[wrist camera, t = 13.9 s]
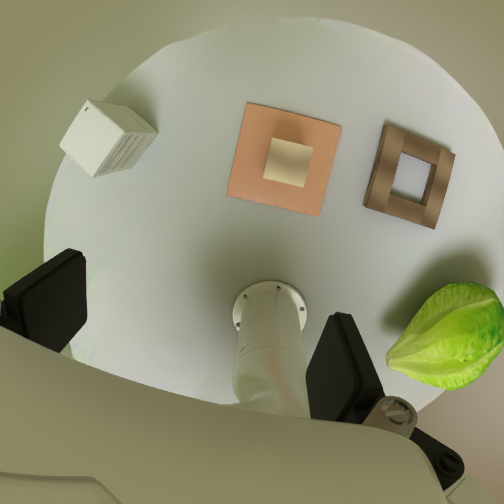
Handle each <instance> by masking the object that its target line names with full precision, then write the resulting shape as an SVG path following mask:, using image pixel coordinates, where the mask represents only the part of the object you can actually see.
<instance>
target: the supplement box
mask: <svg viewBox="0 0 504 504" xmlns="http://www.w3.org/2000/svg"><path fill="white" fill-rule="evenodd" d="M157 134H158V131H156V130H155V129H154V128H153V127H152V126H151V125H150V124H148V123H147V122H146V121H145V120H144V119H143V118H141V117H140V116H139V115H138V114H137V113H135V112H134V111H133V110H132V109H131V108H129V107H126V106H121V105H116V104H111V103H106V102H100V101H95V100H89V99H88V100H87V101H86V103H85V104H84V106H83V107H82V109H81V110H80V112H79V113H78V115H77V116H76V118H75V119H74V121H73V123H72V124H71V126H70V127H69V129H68V131H67V132H66V134H65V136H64V137H63V139H62V141H61V143H60V145H59V146H60V147H61V148H62V149H63V150H64V151H65V152H66V153H67V154H68V155H69V156H70V157H71V158H72V159H73V160H74V161H75V162H76V163H77V164H78V165H79V166H80V167H81V168H82V169H83V170H84V171H85V172H86V173H87V174H88V175H90V176H91V177H92V178H93V177H97V176H101V175H105V174H109V173H113V172H117V171H121V170H126V169H130V168H132V167H133V165H134V164H135V163H136V161H137V160H138V159H139V157H140V156H141V155H142V153H143V152H144V151H145V150H146V148H147V147H148V146H149V144H150V143H151V142H152V141H153V139H154V138H155V137H156V135H157Z"/></svg>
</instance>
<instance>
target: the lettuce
mask: <svg viewBox="0 0 504 504" xmlns="http://www.w3.org/2000/svg"><path fill="white" fill-rule="evenodd" d="M503 346H504V308H503V306H502V304H501V302H500V300H499V298H498V297H497V295H496V294H495V292H494V291H493V290H491V289H489V288H486V287H484V286H481V285H479V284H476V283H474V282H459V283H452V284H447V285H446V286H444V287H443V288H441V289H440V290H438V291H436V292H435V293H434V294H433V295H431V296H430V297H429V298H428V299H427V300H426V302H425V303H424V304H423V306H422V307H421V308H420V310H419V311H418V312H417V313H416V315H415V316H414V318H413V319H412V321H411V322H410V323H409V325H408V326H407V328H406V329H405V331H404V332H403V334H402V335H401V337H400V338H399V339H398V340H397V342H396V343H395V344H394V345H393V346H392V347H391V348H390V349H389V351H388V352H387V354H386V363H387V366H388V367H389V368H390V369H392V370H395V371H399V372H402V373H404V374H405V375H407V376H409V377H411V378H412V379H415V380H417V381H420V382H423V383H426V384H429V385H432V386H436V387H439V388H443V389H446V390H450V391H451V390H455V389H459V388H463V387H465V386H466V385H468V384H470V383H472V382H473V381H475V380H476V379H477V378H478V377H479V376H481V375H482V374H483V372H484V371H485V370H486V369H487V367H488V366H489V365H490V363H491V362H492V361H493V360H494V359H495V358H496V357H497V355H498V354H499V353H500V352H501V350H502V348H503Z"/></svg>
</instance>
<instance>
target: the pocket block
mask: <svg viewBox="0 0 504 504" xmlns="http://www.w3.org/2000/svg"><path fill="white" fill-rule="evenodd" d="M401 152H403V153H405V154H408V155H410V156H413V157H415V158H418V159H420V160H423V161H425V162H427V163H430V164H432V165H431V169H430V173H429V177H428V180H427V184H426V188H425V191H424V195H423V198H422V202H421V205H420V204H418V203H415V202H412V201H409V200H406V199H404V198H401V197H398V196H395V195H392V194H390V191H391V188H392V184H393V181H394V177H395V173H396V169H397V166H398V162H399V158H400V154H401ZM454 159H455V154H453V153H451V152H449V151H447V150H445V149H443V148H441V147H439V146H437V145H435V144H433V143H430V142H428V141H426V140H424V139H421V138H419V137H417V136H414V135H412V134H410V133H407V132H405V131H403V130H400V129H398V128H395V127H393V126H390V125H384V126H383V130H382V135H381V139H380V143H379V147H378V151H377V155H376V159H375V163H374V167H373V171H372V174H371V178H370V182H369V185H368V189H367V193H366V196H365V200H364V203H363V206H365V207H366V208H369V209H373V210H376V211H379V212H382V213H386V214H389V215H392V216H395V217H398V218H401V219H404V220H408V221H411V222H414V223H417V224H420V225H423V226H426V227H428V228H431V229H434V230H435V227H436V224H437V220H438V217H439V214H440V211H441V208H442V204H443V201H444V197H445V194H446V190H447V187H448V183H449V179H450V175H451V171H452V167H453V163H454Z"/></svg>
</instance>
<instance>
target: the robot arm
mask: <svg viewBox="0 0 504 504" xmlns="http://www.w3.org/2000/svg"><path fill="white" fill-rule="evenodd" d="M277 286H280V287H277ZM3 295H4V300H3V301H2V302H1V300H0V504H499V503H498V502H497V501H496V500H495V499H494V498H493V497H492V496H491V495H490V494H489V493H488V492H487V491H486V490H485V489H484V488H483V487H482V486H481V485H480V484H479V483H478V482H477V481H476V480H475V479H474V478H473V477H472V476H471V475H469V474H468V475H467V476H465V475H464V474H463V473H464V463H463V461H462V459H461V457H460V456H459V455H458V454H457V453H456V452H454V450H452V449H450V448H449V447H447V446H445V445H444V444H442V443H440V442H439V441H437V440H436V439H434V438H432V437H431V436H429V435H428V434H426V433H424V432H423V431H421V430H420V429H418V428H416V427H415V425H416V423H417V419H418V417H417V412H416V411H415V409H414V407H413V406H412V405H411V404H410V403H408V402H407V401H406V400H404V399H402V398H399V397H395V396H385V393H384V391H383V387H382V385H381V382H380V380H379V377H378V375H377V372H376V370H375V368H374V365H373V363H372V360H371V358H370V356H369V353H368V351H367V349H366V346H365V344H364V342H363V339H362V337H361V335H360V333H359V330H358V328H357V326H356V324H355V321H354V319H353V317H352V315H351V314H345V313H340V312H336V313H335V314H334V315H330V316H329V317H328V320H327V322H326V325H325V327H324V330H323V332H322V335H321V337H320V340H319V342H318V344H317V347H316V349H315V352H314V354H313V356H312V359H311V361H310V363H309V365H308V368H307V364H306V357H305V351H304V345H303V339H302V333H301V331H302V330H303V328H304V326H305V324H306V321H307V307H306V304H305V301H304V299H303V297H302V295H301V294H300V293H299V292H298V291H297V290H296V289H294V288H293V287H292V286H290V285H288V284H286V283H282V282H279V281H262V282H258V283H255V284H253V285H250V286H249V287H247V288H246V289H244V290H243V291H242V292H241V293H240V294H239V295H238V297H237V299H236V300H235V303H234V306H233V311H232V319H233V323H234V326H235V328H236V330H237V331H238V332H239V335H238V342H237V349H236V356H235V363H234V370H233V377H232V383H233V389H234V392H235V394H236V397H237V398H238V400H239V402H240V403H233V404H217V403H212V402H208V401H203V400H199V399H195V398H191V397H187V396H183V395H179V394H175V393H171V392H168V391H164V390H161V389H157V388H154V387H150V386H147V385H144V384H141V383H137V382H134V381H131V380H128V379H125V378H122V377H119V376H116V375H113V374H110V373H108V372H105V371H102V370H99V369H97V368H94V367H91V366H89V365H86V364H84V363H81V362H79V361H76V360H74V359H71V358H69V357H66V356H64V355H62V354H59V353H60V352H61V351H62V350H63V348H64V347H65V346H66V345H67V344H68V343H69V341H70V340H71V339H72V338H73V337H74V336H75V334H76V333H77V332H78V331H79V330H80V329H81V328H82V326H83V325H84V324H85V323H86V320H87V298H86V259H85V257H84V256H83V254H82V252H81V251H77V250H74V249H70V248H68V249H66V250H64V251H63V252H61V253H59V254H58V255H56V256H55V257H53V258H52V259H50V260H49V261H47V262H45V263H44V264H42V265H41V266H39V267H38V268H36V269H35V270H33V271H32V272H31V273H29V274H27V275H26V276H24V277H23V278H21V279H20V280H19V281H17V282H16V283H14V284H13V285H12V286H10V287H9V288H7V289H6V290H4V291H3ZM245 295H246V296H245ZM238 322H239V323H238Z"/></svg>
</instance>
